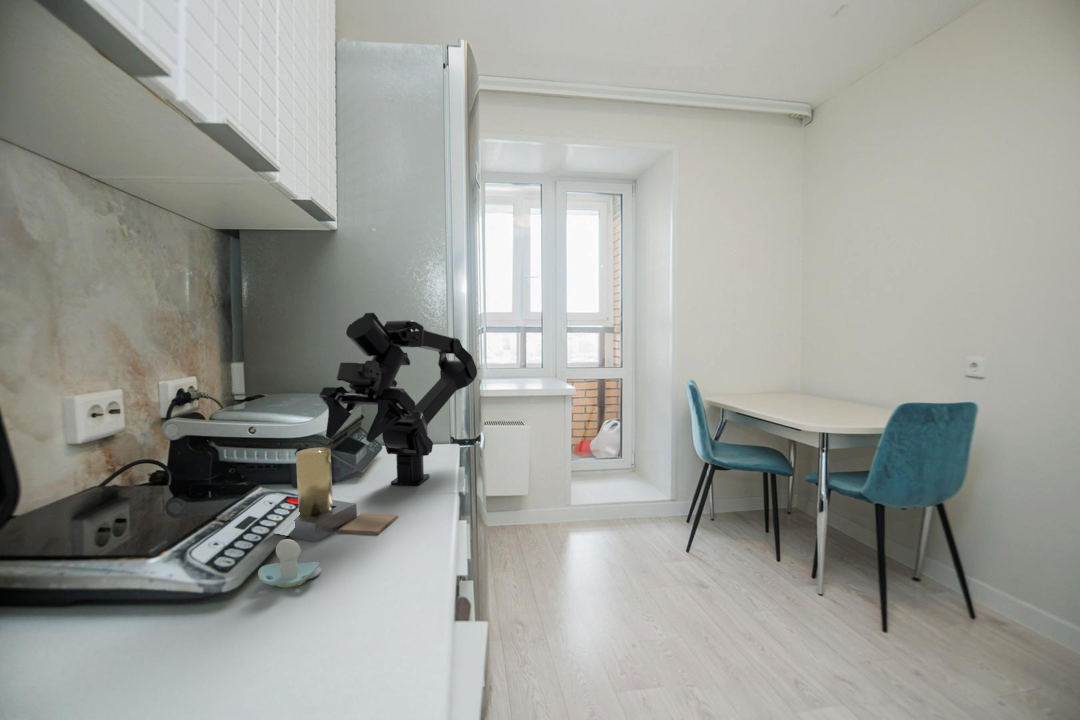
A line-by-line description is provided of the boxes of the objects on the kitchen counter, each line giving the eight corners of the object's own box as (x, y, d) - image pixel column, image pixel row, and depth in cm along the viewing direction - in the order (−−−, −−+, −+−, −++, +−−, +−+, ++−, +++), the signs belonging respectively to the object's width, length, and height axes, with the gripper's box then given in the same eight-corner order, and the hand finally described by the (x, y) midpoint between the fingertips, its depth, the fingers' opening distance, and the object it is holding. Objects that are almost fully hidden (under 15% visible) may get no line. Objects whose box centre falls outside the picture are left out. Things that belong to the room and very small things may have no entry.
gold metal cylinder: (312, 518, 82) (309, 447, 81) (339, 520, 81) (336, 447, 80) (292, 531, 77) (288, 455, 76) (321, 533, 76) (317, 455, 75)
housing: (317, 513, 84) (317, 497, 84) (357, 520, 81) (356, 503, 81) (273, 534, 76) (272, 516, 76) (315, 542, 73) (314, 523, 73)
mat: (361, 515, 83) (361, 512, 83) (398, 517, 82) (398, 514, 82) (338, 532, 76) (338, 529, 76) (378, 534, 75) (378, 531, 75)
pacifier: (276, 571, 65) (252, 593, 59) (275, 526, 65) (250, 545, 59) (330, 568, 65) (311, 591, 59) (329, 524, 65) (310, 542, 59)
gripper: (321, 345, 91) (279, 414, 82) (401, 345, 84) (364, 419, 75) (354, 378, 99) (318, 444, 90) (429, 380, 93) (398, 451, 84)
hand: (347, 439), depth 85 cm, fingers open, 9 cm apart
